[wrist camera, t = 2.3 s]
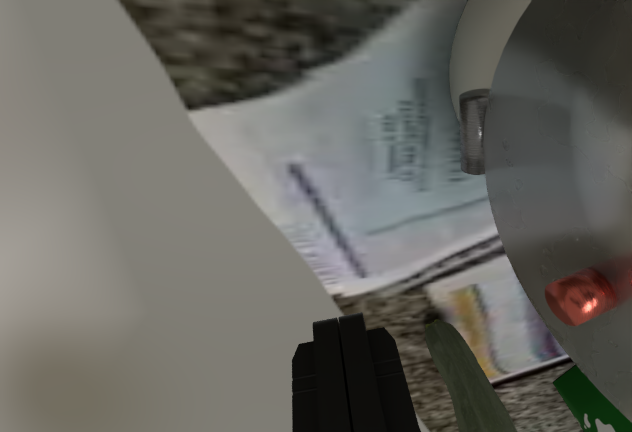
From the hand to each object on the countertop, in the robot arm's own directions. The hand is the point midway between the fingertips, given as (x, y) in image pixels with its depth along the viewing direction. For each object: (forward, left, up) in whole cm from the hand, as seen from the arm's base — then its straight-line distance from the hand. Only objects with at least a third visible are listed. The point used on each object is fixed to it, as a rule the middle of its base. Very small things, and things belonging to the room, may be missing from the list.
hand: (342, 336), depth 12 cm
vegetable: (+24, +8, -21) cm, 33 cm away
